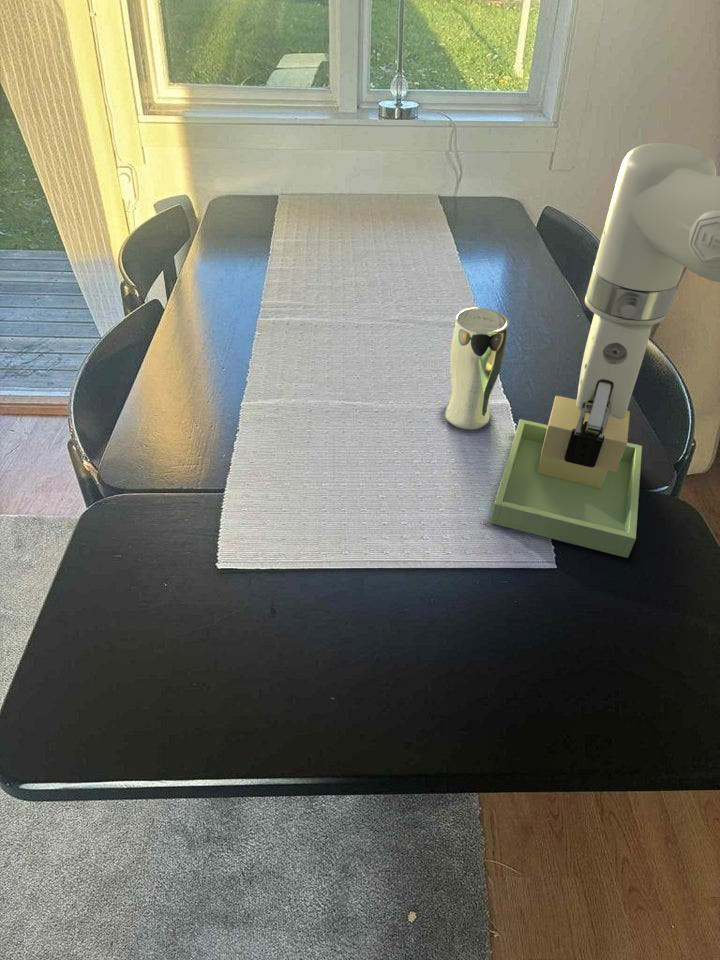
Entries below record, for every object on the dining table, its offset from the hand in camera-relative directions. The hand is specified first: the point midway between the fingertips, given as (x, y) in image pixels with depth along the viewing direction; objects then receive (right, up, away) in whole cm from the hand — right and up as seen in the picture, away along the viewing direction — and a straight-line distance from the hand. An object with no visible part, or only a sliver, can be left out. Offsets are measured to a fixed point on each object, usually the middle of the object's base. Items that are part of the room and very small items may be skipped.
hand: (582, 443), depth 76 cm
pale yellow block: (+3, -2, +13) cm, 13 cm away
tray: (+1, -5, +10) cm, 11 cm away
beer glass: (-9, +5, +21) cm, 24 cm away
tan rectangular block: (0, 0, 0) cm, 1 cm away
